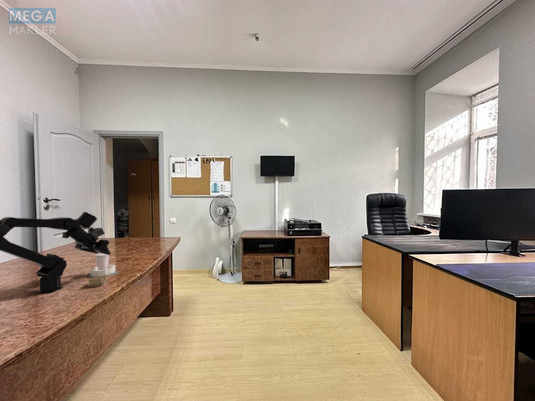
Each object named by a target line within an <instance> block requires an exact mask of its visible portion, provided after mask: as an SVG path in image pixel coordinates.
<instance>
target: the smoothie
mask: <svg viewBox="0 0 535 401" xmlns="http://www.w3.org/2000/svg"><path fill="white" fill-rule="evenodd" d="M94 257H95V259H96V265H97V266H98V270H105V269H108V265H109V258H110V255H106V254H102V253H98V254H96V253H95V255H94ZM97 266H96V267H97Z"/></svg>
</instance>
